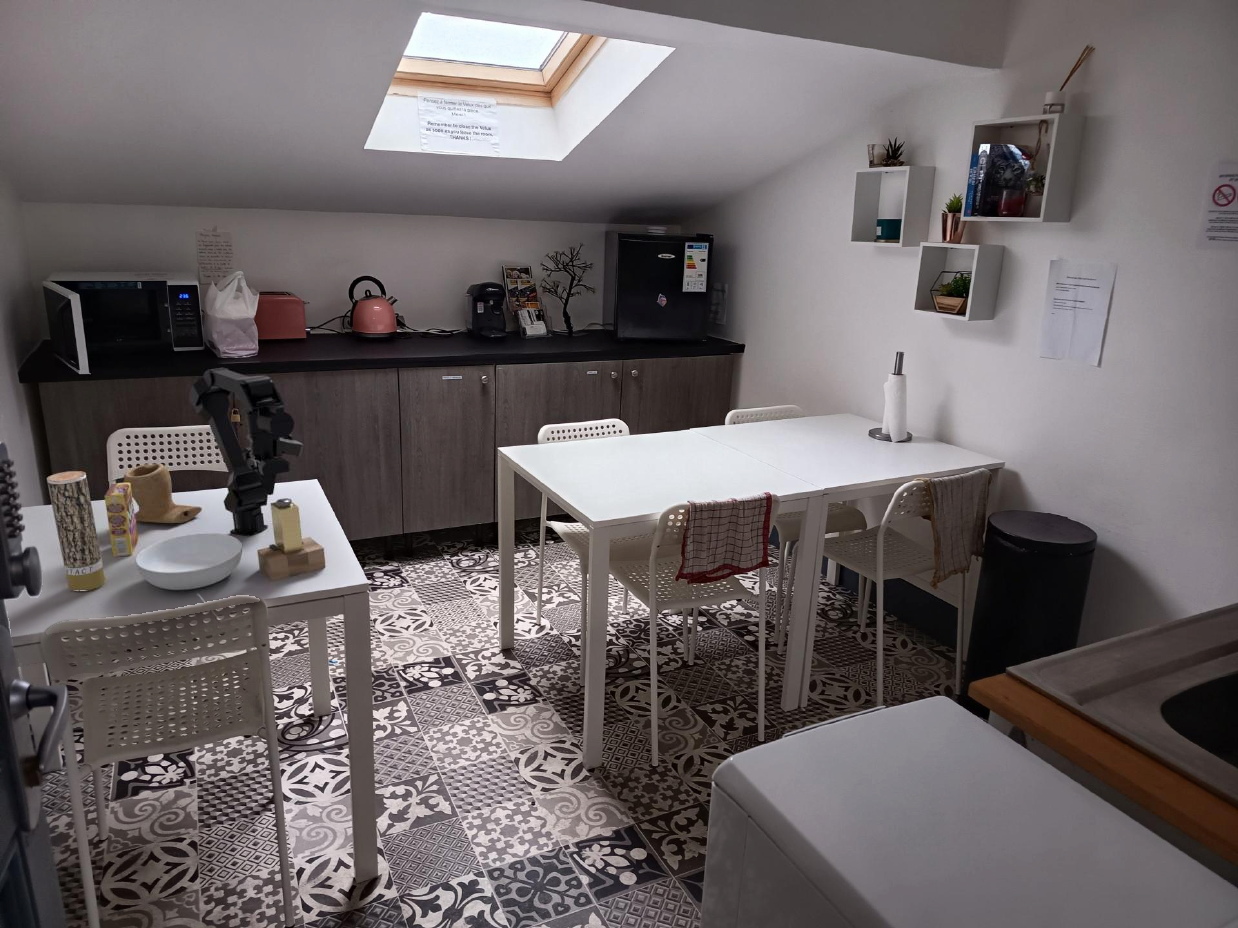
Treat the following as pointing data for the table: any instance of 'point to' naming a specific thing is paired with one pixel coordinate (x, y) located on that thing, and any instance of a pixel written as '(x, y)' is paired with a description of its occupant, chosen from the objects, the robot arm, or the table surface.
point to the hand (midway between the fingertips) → (270, 494)
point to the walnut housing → (291, 560)
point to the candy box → (121, 519)
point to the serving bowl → (189, 560)
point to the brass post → (286, 526)
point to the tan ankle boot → (156, 495)
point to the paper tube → (76, 530)
